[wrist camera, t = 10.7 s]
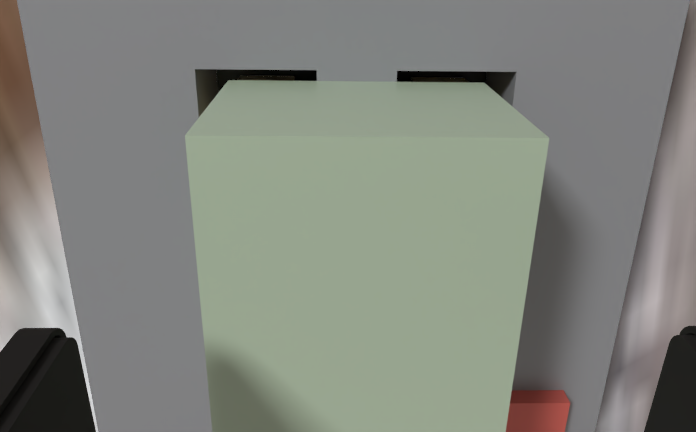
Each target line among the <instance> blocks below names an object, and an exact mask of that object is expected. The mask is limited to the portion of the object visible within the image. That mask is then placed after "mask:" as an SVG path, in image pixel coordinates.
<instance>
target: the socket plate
mask: <svg viewBox="0 0 696 432" xmlns="http://www.w3.org/2000/svg"><path fill="white" fill-rule="evenodd" d="M689 2H690V0H17V3H18V8H19V13H20V19H21V24H22V29H23V34H24V40H25V45H26V50H27V56H28V61H29V66H30V71H31V77H32V82H33V87H34V93H35V98H36V103H37V108H38V114H39V119H40V124H41V130H42V135H43V140H44V145H45V151H46V156H47V161H48V167H49V172H50V177H51V183H52V188H53V193H54V198H55V204H56V209H57V214H58V220H59V225H60V230H61V235H62V241H63V246H64V251H65V257H66V262H67V267H68V272H69V278H70V283H71V288H72V294H73V299H74V304H75V309H76V315H77V320H78V325H79V331H80V336H81V341H82V346H83V352H84V357H85V362H86V368H87V373H88V378H89V383H90V389H91V394H92V399H93V405H94V410H95V415H96V420H97V426H98V431H99V432H212V423H211V412H210V401H209V390H208V380H207V369H206V358H205V347H204V337H203V326H202V315H201V304H200V293H199V283H198V272H197V261H196V250H195V240H194V229H193V218H192V207H191V196H190V186H189V175H188V164H187V153H186V142H185V135H186V133H187V132H188V131H189V130H190V128H191V127H192V126H193V125H194V123H195V122H196V121H197V119H198V118H199V117H200V116H201V114H202V113H203V112H204V111H205V109H206V108H207V107H208V105H209V104H210V103H211V102H212V100H213V99H214V98H215V97H216V95H217V94H218V80H217V69H232V70H317V81H373V82H397V71H478V72H486V81H485V84H486V85H488V86H489V87H490V88H491V89H492V90H494V91H495V92H496V93H497V94H498V95H499V96H501V97H502V98H503V99H504V100H505V101H506V102H508V103H509V104H510V105H511V106H512V107H513V108H515V109H516V110H517V111H518V112H519V113H521V114H522V115H523V116H524V117H525V118H526V119H528V120H529V121H530V122H531V123H532V124H533V125H535V126H536V127H537V128H538V129H539V130H541V131H542V132H543V133H544V134H545V135H546V136H548V137H549V144H548V151H547V158H546V164H545V171H544V178H543V184H542V191H541V198H540V204H539V211H538V218H537V225H536V231H535V238H534V245H533V251H532V258H531V265H530V272H529V278H528V285H527V292H526V298H525V305H524V312H523V319H522V325H521V332H520V339H519V345H518V352H517V359H516V365H515V372H514V379H513V386H512V392H511V399H510V406H509V412H508V419H507V426H506V432H595V429H596V425H597V420H598V416H599V411H600V407H601V402H602V398H603V393H604V388H605V384H606V379H607V375H608V370H609V366H610V361H611V357H612V352H613V348H614V343H615V339H616V334H617V329H618V325H619V320H620V316H621V311H622V307H623V302H624V298H625V293H626V289H627V284H628V279H629V275H630V270H631V266H632V261H633V257H634V252H635V248H636V243H637V239H638V234H639V230H640V225H641V220H642V216H643V211H644V207H645V202H646V198H647V193H648V189H649V184H650V180H651V175H652V170H653V166H654V161H655V157H656V152H657V148H658V143H659V139H660V134H661V130H662V125H663V121H664V116H665V111H666V107H667V102H668V98H669V93H670V89H671V84H672V80H673V75H674V71H675V66H676V61H677V57H678V52H679V48H680V43H681V39H682V34H683V30H684V25H685V21H686V16H687V11H688V7H689Z"/></svg>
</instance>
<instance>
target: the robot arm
mask: <svg viewBox="0 0 696 432" xmlns="http://www.w3.org/2000/svg"><path fill="white" fill-rule="evenodd" d="M0 432H96V431H95V426H94V421H93V416H92V411H91V407H90V402H89V397H88V392H87V388H86V383H85V378H84V373H83V369H82V364H81V359H80V354H79V349H78V345H77V342H76V340H75V339H74V338H66V335H65V333H64V331H63V330H62V329H60V328H23V329H19V330H18V331H17V332H16V333H15V334H14V335H13V337H12V338H11V339H10V341H9V342H8V343H7V344H6V346H5V347H4V348H3V349H2V351H1V352H0ZM644 432H696V326H688V327H685V328H684V329H683V330H682V331H681V332H680V335H676V336H674V337H673V338H672V339H671V341H670V343H669V346H668V350H667V353H666V357H665V360H664V364H663V367H662V371H661V374H660V378H659V381H658V385H657V388H656V392H655V395H654V399H653V402H652V406H651V409H650V413H649V416H648V420H647V423H646V427H645V430H644Z"/></svg>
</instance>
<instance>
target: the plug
mask: <svg viewBox="0 0 696 432" xmlns="http://www.w3.org/2000/svg"><path fill="white" fill-rule="evenodd" d="M185 142H186V153H187V164H188V175H189V186H190V196H191V207H192V218H193V229H194V240H195V250H196V261H197V272H198V283H199V293H200V304H201V315H202V326H203V337H204V347H205V358H206V369H207V380H208V390H209V401H210V412H211V423H212V432H506V426H507V419H508V412H509V406H510V399H511V392H512V386H513V379H514V372H515V365H516V359H517V352H518V345H519V339H520V332H521V325H522V319H523V312H524V305H525V298H526V292H527V285H528V278H529V272H530V265H531V258H532V251H533V245H534V238H535V231H536V225H537V218H538V211H539V204H540V198H541V191H542V184H543V178H544V171H545V164H546V158H547V151H548V144H549V137H548V136H546V135H545V134H544V133H543V132H542V131H541V130H539V129H538V128H537V127H536V126H535V125H533V124H532V123H531V122H530V121H529V120H528V119H526V118H525V117H524V116H523V115H522V114H521V113H519V112H518V111H517V110H516V109H515V108H513V107H512V106H511V105H510V104H509V103H508V102H506V101H505V100H504V99H503V98H502V97H501V96H499V95H498V94H497V93H496V92H495V91H494V90H492V89H491V88H490V87H489V86H488V85H486V84H485V83H477V82H468V81H467V80H466V79H465V78H453V77H410V82H373V81H295V76H251V75H240V76H239V78H238V79H237V80H228V81H227V82H226V84H225V85H224V86H223V88H222V89H221V90H220V91H219V93H218V94H217V95H216V97H215V98H214V99H213V100H212V102H211V103H210V104H209V105H208V107H207V108H206V109H205V111H204V112H203V113H202V114H201V116H200V117H199V118H198V119H197V121H196V122H195V123H194V125H193V126H192V127H191V128H190V130H189V131H188V132H187V133H186V135H185Z"/></svg>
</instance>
